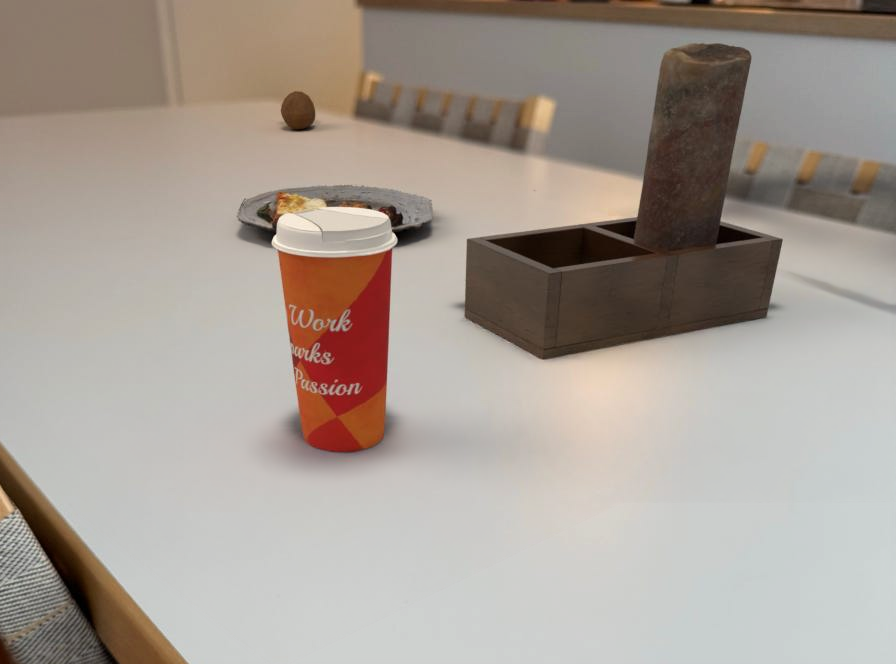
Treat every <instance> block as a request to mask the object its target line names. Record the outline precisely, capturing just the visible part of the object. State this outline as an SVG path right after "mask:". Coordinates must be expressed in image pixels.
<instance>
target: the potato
mask: <svg viewBox="0 0 896 664" xmlns="http://www.w3.org/2000/svg"><path fill="white" fill-rule="evenodd" d="M280 115H281V117H282V119H283V121H284V123H285V124H286V125H287V127H288V128H290V129H293V130H303V129H306V128H309V127H310V126H312V125H313V124H314V122H315V120H316V108H315V104H314V102H313V100H312V99H311V98H310V96H309V95H308V94H306V93H305V92H303V91H299V90H298V91H297V90H295V91H292V92H290V93H289V94H288V95H286V97H284V99H283V100H282V103H281V107H280Z"/></svg>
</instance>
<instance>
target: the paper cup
mask: <svg viewBox="0 0 896 664" xmlns="http://www.w3.org/2000/svg"><path fill="white" fill-rule="evenodd" d="M275 233H276V234H275V235H273V238H272V240H271V246H272V247H273V248H274V249H275V250H277V255H278V263H279V270H280V279H281V283H282V284H281V285H282V292H283V299H284V301H283V302H284V309H285V316H286V323H287V330H288V339H289V347H290V353H291V360H292V368H293V375H294V383H295V390H296V396H297V404H298V412H299V417H300V425H301V430H302V435H303V439H304V441H305V442H306V444H308V445H309V446H311V447H312V448H315V449H318V450H321V451H326V452H332V453H333V452H336V453H346V452H347V453H348V452H356V451H357V452H358V451H362V450H366V449H369V448H372V447H374V446H376V445H377V444H380V443H381V441H382V440H383V438H384V435H385V428H386V427H385V425H386V411H387V392H388V391H387V390H388V388H387V387H388V370H389V369H388V365H389V363H388V362H389V346H390V345H389V344H390V343H389V342H390V341H389V340H390V320H391V319H390V315H391V291H392V290H391V289H392V288H391V287H392V266H393V265H392V264H393V248H394V247H395V246H396V245H398V237H397V236H396V234H395V232H392V228H391V222H390V219H389V217H388V216H387V215H386V214H384V213H382V212H379V211H375V210H370V209H364V208H354V207H321V208H317V210H316V211H313V209H308V210H302V211H297V212H295V215H294V214H291V213H287V214H284V215H282V216H281V217H280V218H279V220H278V222H277V232H275Z"/></svg>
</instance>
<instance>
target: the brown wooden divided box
mask: <svg viewBox="0 0 896 664" xmlns="http://www.w3.org/2000/svg"><path fill="white" fill-rule="evenodd" d="M636 222H637V216H635V217H627V218H620V219H618V218H617V219H612V220H603V221H595V222H587V223H581V224H580V223H579V224H573V225H565V226H556V227H549V228H540V229H533V230H526V231H525V230H523V231H517V232H509V233H502V234H493V235H487V236H486V235H485V236H480V237H477V236H476V237H471V238H470V237H469V238H467V239H466V253H465V254H466V255H465V256H466V257H465V258H466V259H465V260H466V261H465V286H464V287H465V289H464V318H466V319H468V320H469V321H472V322H473V323H475V324H477V325H478V326H481V327H483V329H484V328H485V329H486V330H488V331H490V332H492V333H493V334H496V335H497V336H499V337H501V338H503V339H504V340H507V341H508V342H510V343H512V344H514V345H516V346H518V347H519V348H522V349H523V350H525V351H527V352H529V353H530V354H532V355H534V356H536V357H538V358H540V359H541V360H545V359H550V358H551V359H552V358H556V357H562V356H567V355H571V354H577V353H583V352H587V351H593V350H598V349H604V348H609V347H615V346H619V345H625V344H630V343H635V342H641V341H646V340H651V339H657V338H663V337H667V336H673V335H678V334H684V333H689V332H695V331H699V330H705V329H710V328H715V327H720V326H721V327H722V326H725V325H726V326H727V325H731V324H737V323H742V322H747V321H752V320H757V319H762V318H767V317H768V312H769V308H770V303H771V298H772V293H773V288H774V284H775V279H776V274H777V270H778V266H779V260H780V255H781V251H782V245H783V241H784V239H783V238H781V237H777V236H774V235H770V234H767V233H764V232H760V231H757V230H753V229H749V228H746V227H743V226H739V225H735V224H733V223H732V224H731V223H728V222H725V221H721V220H720V226H719V231H718V237H717V242H716V245H709V246H703V247H696V248H689V249H682V250H675V251H667V250H664V249H661V248H658V247H655V246H652V245H649V244H646V243H643V242H640V241H637V240H634V234H635V228H636Z"/></svg>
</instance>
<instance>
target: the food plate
mask: <svg viewBox="0 0 896 664" xmlns="http://www.w3.org/2000/svg"><path fill="white" fill-rule="evenodd" d="M432 202H433V200H432V199H430V198H427V196H422V195H418V194H413V193H409V192H405V191H401V190H397V189H396V190H395V189H393V188H391V189H389V188H385V187H383V188H382V187H377V186H368V185H367V186H365V185H363V184H362V185H360V186H359V185H353V184H344V185H342V184H339V185H337V184H336V185H335V184H334V185H327V184H325V185H311V186H303V187H298V186H297V187H290V188H288V187H287V188H282V189H281V188H280V189H276V190H272V191H270V190H269V191H266V192H262V193H259V194H257V195H255V196H251V197H249V198H247V197H246V198H245V197H244V198H243V201H242V202H241V203H240V206H239V208H238V211H237V213H236V218H237V219H238V221H239V222H240V223H241V224H243V225H245V226H249V227H252V228H256V229H259V230H263V231H265V232H266V231H267V232H274V233H277V222H278V220H279V218H280V217H281V216H282V215H284V214H287V213H291V214H294V215H295V212H297V211H302V210H308V209H313V211H316V210H317V208H321V207H354V208H364V209H370V210H375V211H379V212H382V213H384V214H386V215H387V216H388V217H389V219H390V222H391V228H392V232H393V233H396V232H398V233H401V232H402V231H404V230H407V231H409V230H410V229H412V232H414V229H416V230H417V229H419V228H420V227H421V226H422V224H423V223H424V224H425V225H429V224H430V223H431V222H432V220H433V219H434V211H433V203H432Z"/></svg>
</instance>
